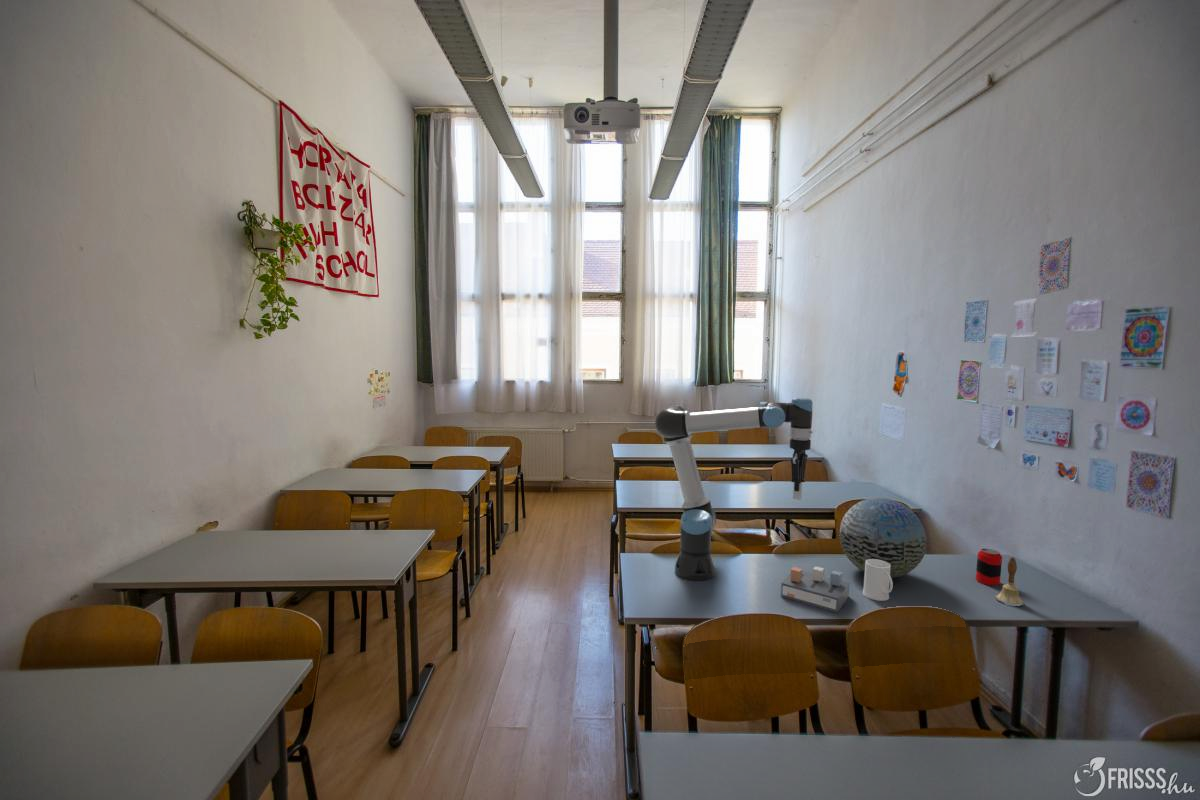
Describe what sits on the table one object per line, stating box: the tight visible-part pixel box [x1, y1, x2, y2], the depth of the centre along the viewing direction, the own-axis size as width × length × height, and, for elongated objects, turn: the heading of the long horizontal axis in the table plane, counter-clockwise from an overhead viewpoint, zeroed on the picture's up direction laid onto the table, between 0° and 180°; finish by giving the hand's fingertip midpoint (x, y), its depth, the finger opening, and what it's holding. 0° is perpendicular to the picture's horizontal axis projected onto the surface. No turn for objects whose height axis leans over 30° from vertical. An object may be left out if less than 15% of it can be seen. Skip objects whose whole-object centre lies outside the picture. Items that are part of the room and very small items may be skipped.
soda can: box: [975, 548, 1003, 586], centre depth 212 cm, size 8×8×12 cm
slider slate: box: [829, 570, 843, 586], centre depth 196 cm, size 3×3×4 cm
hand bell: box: [995, 556, 1024, 604], centre depth 195 cm, size 8×8×16 cm
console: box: [780, 570, 850, 613], centre depth 197 cm, size 19×16×5 cm
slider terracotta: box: [790, 566, 803, 583], centre depth 199 cm, size 3×3×4 cm
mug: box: [862, 559, 894, 602], centre depth 197 cm, size 12×8×12 cm
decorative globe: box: [839, 497, 927, 579], centre depth 216 cm, size 30×30×30 cm
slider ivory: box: [812, 566, 825, 582], centre depth 199 cm, size 3×3×4 cm
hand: (797, 498), depth 216 cm, fingers closed
